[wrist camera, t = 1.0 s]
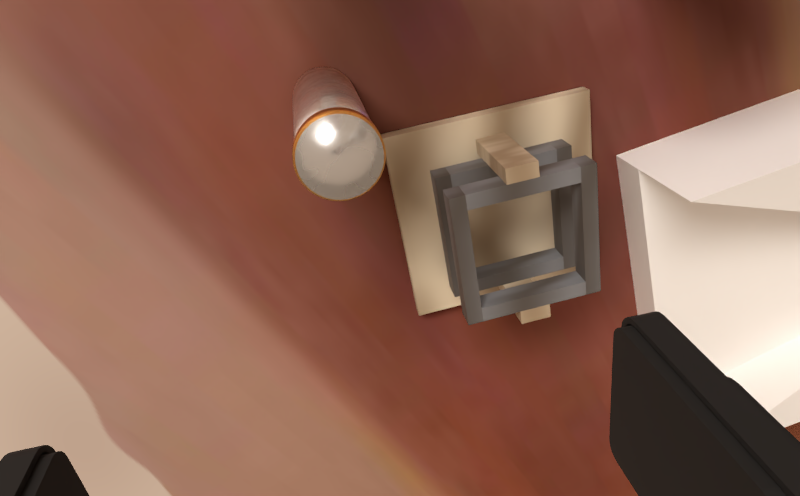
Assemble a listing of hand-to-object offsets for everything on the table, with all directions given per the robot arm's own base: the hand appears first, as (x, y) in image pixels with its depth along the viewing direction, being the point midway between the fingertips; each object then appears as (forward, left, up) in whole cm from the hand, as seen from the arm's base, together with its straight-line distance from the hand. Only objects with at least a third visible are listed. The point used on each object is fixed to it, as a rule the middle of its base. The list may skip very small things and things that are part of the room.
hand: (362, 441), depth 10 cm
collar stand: (-11, +11, -30) cm, 34 cm away
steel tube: (-1, +1, -30) cm, 30 cm away
